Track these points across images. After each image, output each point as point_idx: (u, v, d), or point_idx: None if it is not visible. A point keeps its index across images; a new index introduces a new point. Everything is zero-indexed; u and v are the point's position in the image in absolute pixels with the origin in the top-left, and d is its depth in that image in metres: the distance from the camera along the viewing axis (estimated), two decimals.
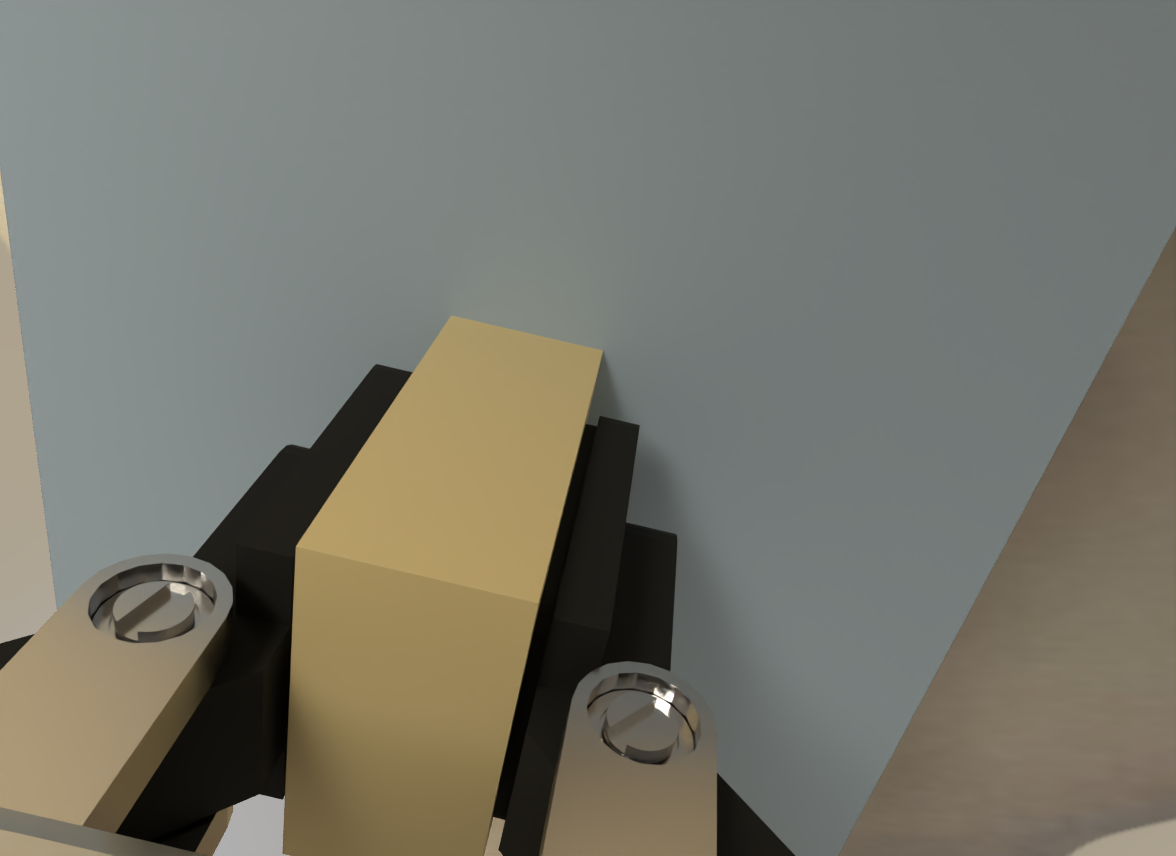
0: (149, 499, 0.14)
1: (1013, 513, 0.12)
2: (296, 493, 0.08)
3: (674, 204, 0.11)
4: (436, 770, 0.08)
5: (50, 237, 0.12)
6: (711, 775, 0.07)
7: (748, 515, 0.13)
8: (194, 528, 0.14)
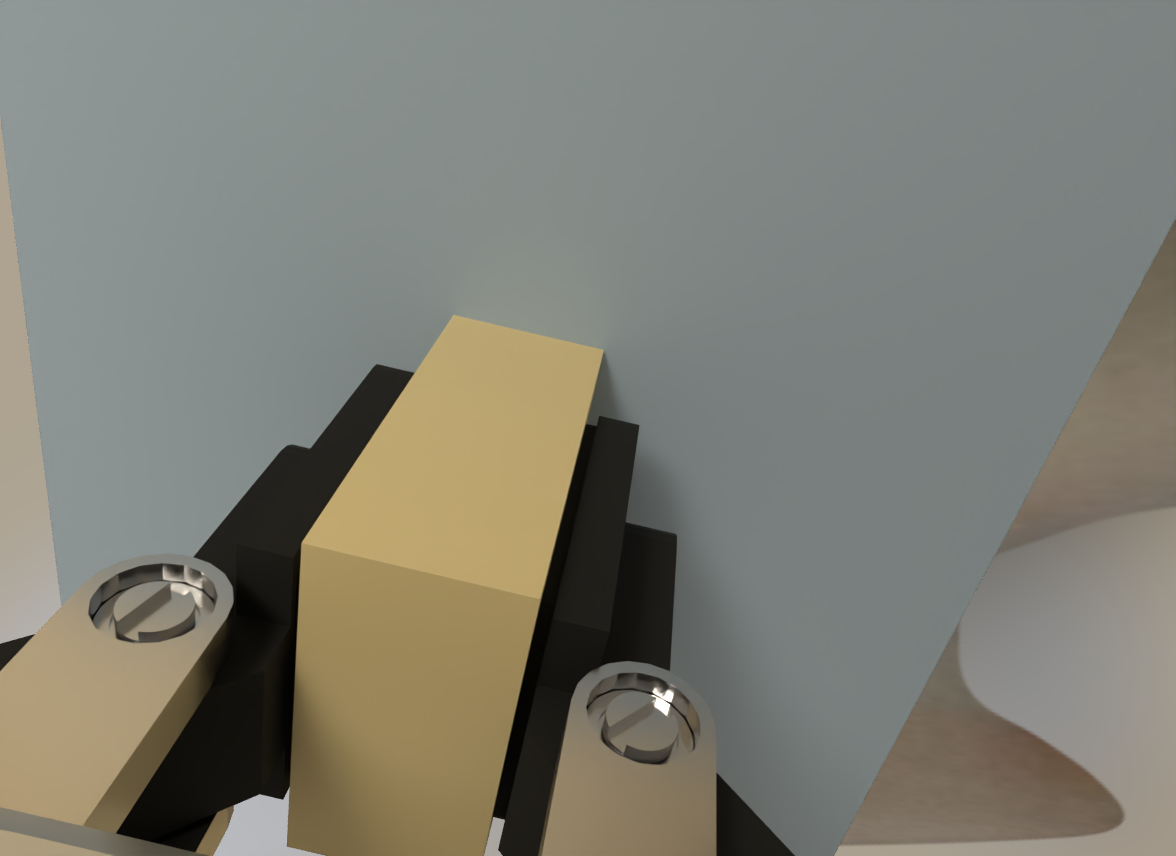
0: (153, 496, 0.14)
1: (1011, 510, 0.12)
2: (296, 493, 0.08)
3: (674, 205, 0.11)
4: (439, 764, 0.08)
5: (56, 236, 0.12)
6: (711, 775, 0.07)
7: (747, 513, 0.13)
8: (198, 525, 0.14)
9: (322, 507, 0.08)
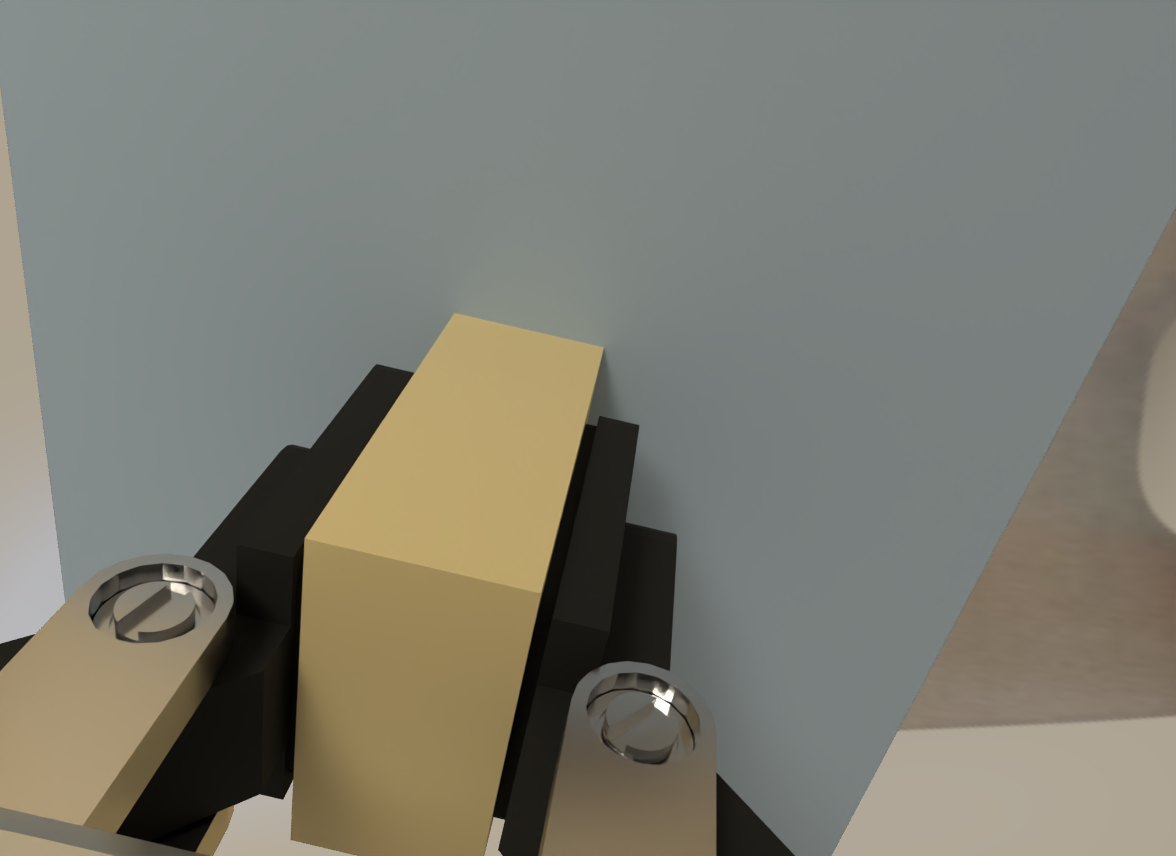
0: (156, 494, 0.14)
1: (1008, 507, 0.12)
2: (297, 493, 0.08)
3: (673, 203, 0.11)
4: (441, 758, 0.09)
5: (59, 236, 0.12)
6: (711, 775, 0.07)
7: (747, 509, 0.13)
8: (201, 523, 0.14)
9: (323, 507, 0.08)
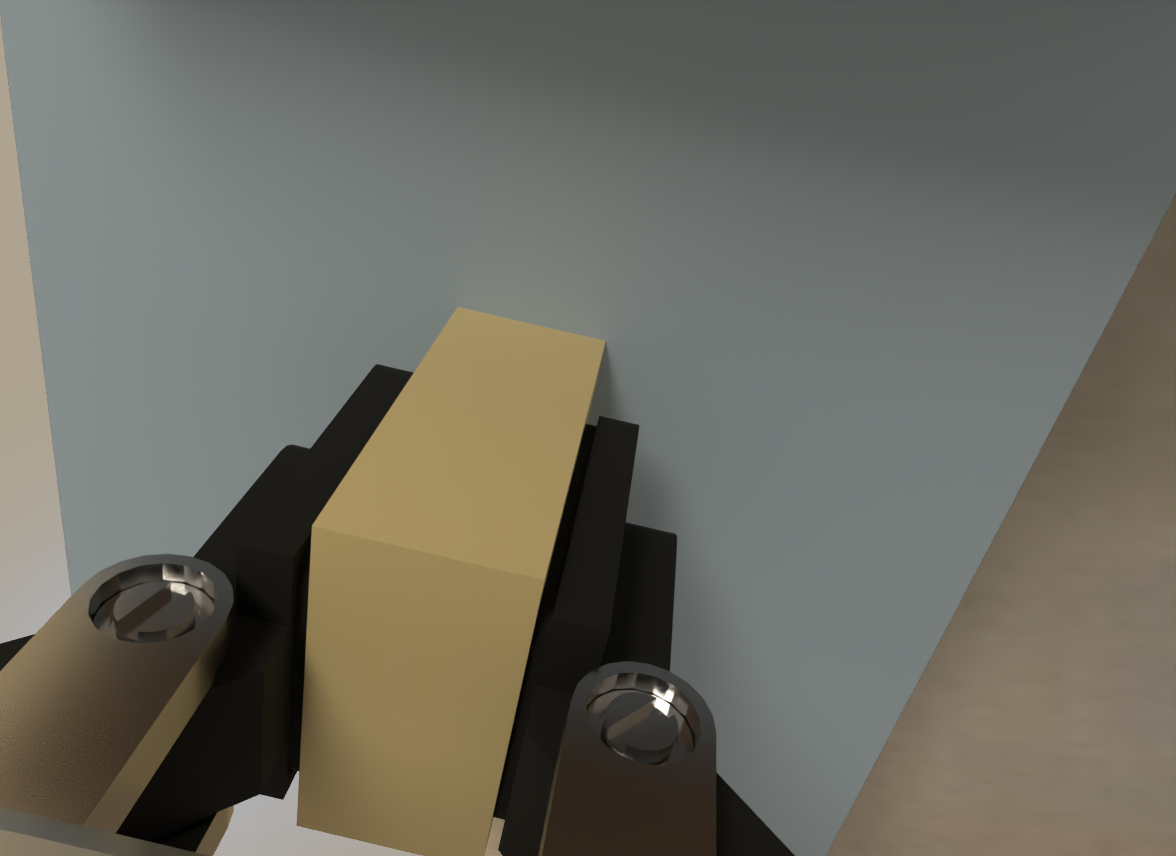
0: (162, 487, 0.14)
1: (1007, 499, 0.12)
2: (296, 493, 0.08)
3: (674, 198, 0.11)
4: (446, 743, 0.09)
5: (66, 230, 0.12)
6: (711, 775, 0.07)
7: (747, 502, 0.13)
8: (206, 516, 0.14)
9: (322, 507, 0.08)
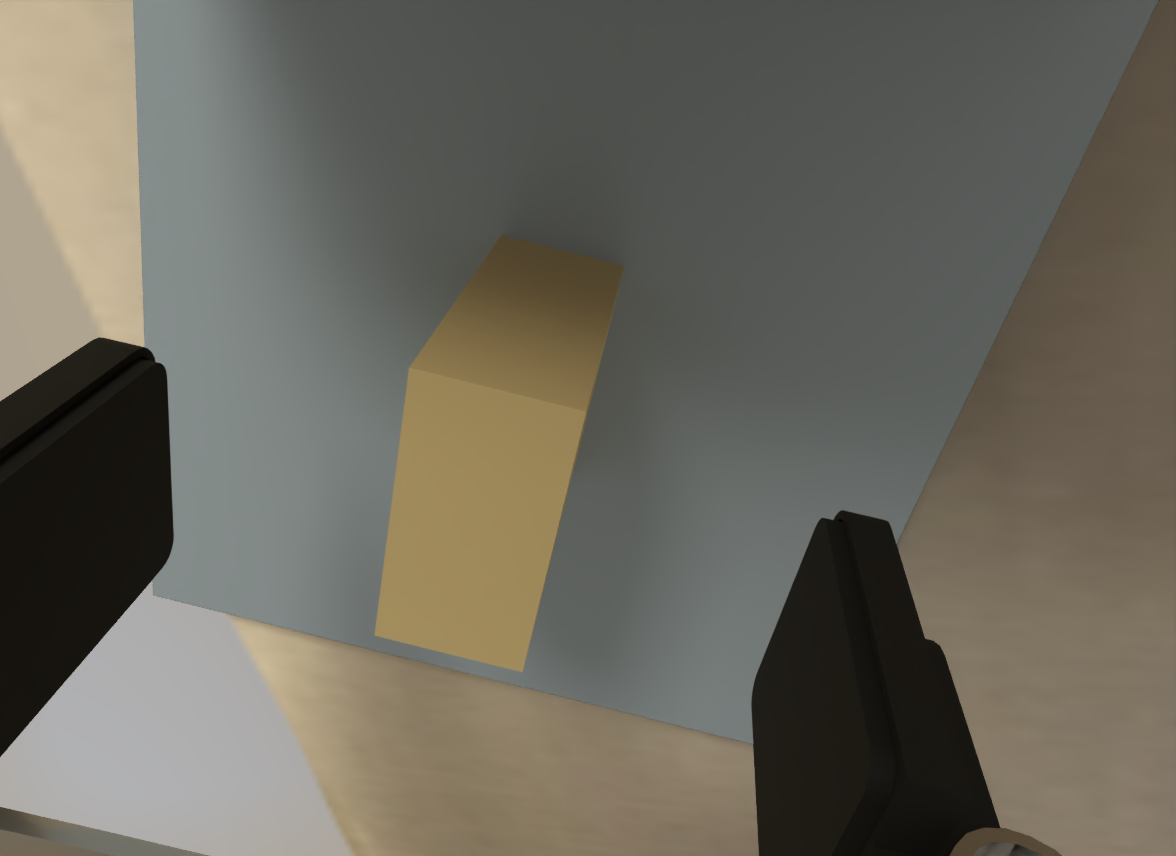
0: (238, 395, 0.16)
1: (956, 406, 0.15)
2: None
3: (684, 143, 0.13)
4: (500, 556, 0.11)
5: (173, 165, 0.14)
6: None
7: (740, 408, 0.15)
8: (274, 421, 0.16)
9: None
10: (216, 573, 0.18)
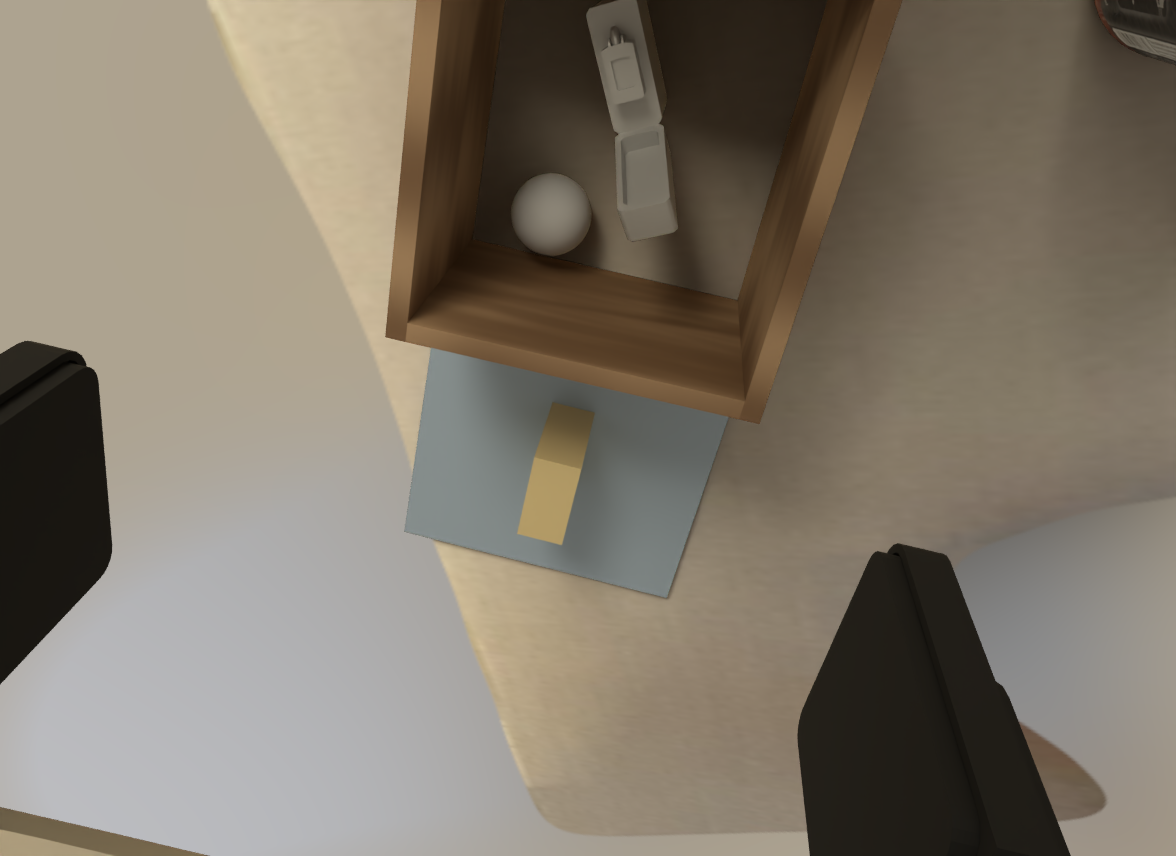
0: (451, 453, 0.43)
1: (711, 460, 0.42)
2: None
3: None
4: (556, 508, 0.38)
5: (439, 377, 0.42)
6: None
7: (636, 460, 0.42)
8: (464, 463, 0.44)
9: None
10: (432, 522, 0.46)
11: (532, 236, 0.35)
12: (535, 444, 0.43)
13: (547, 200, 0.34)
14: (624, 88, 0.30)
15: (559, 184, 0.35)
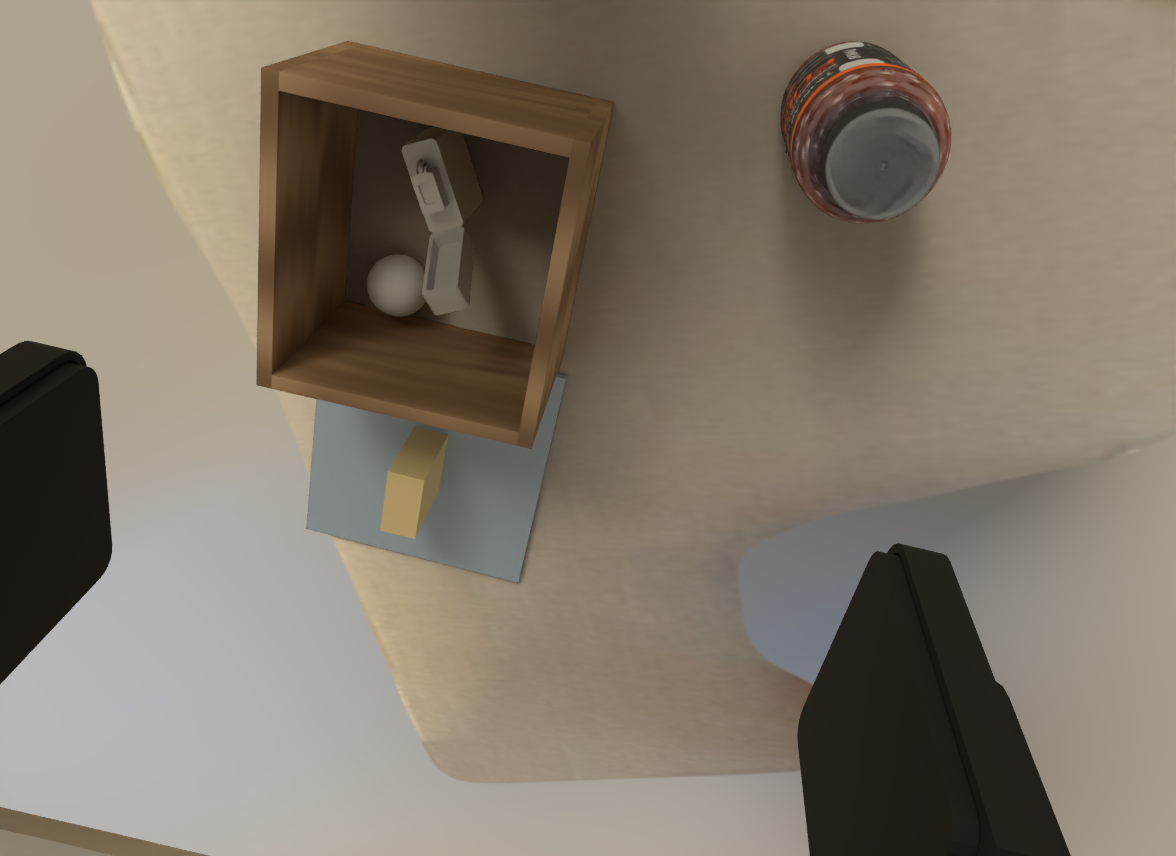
0: (339, 466, 0.54)
1: (542, 473, 0.53)
2: None
3: None
4: (408, 511, 0.49)
5: (325, 406, 0.53)
6: None
7: (484, 472, 0.53)
8: (350, 474, 0.55)
9: None
10: (328, 521, 0.57)
11: (381, 303, 0.46)
12: None
13: (390, 277, 0.45)
14: (430, 203, 0.41)
15: (400, 264, 0.46)
